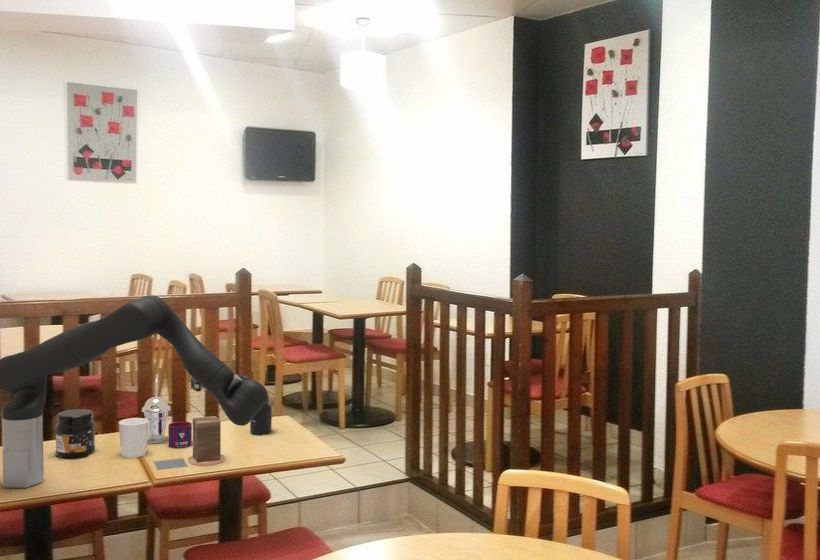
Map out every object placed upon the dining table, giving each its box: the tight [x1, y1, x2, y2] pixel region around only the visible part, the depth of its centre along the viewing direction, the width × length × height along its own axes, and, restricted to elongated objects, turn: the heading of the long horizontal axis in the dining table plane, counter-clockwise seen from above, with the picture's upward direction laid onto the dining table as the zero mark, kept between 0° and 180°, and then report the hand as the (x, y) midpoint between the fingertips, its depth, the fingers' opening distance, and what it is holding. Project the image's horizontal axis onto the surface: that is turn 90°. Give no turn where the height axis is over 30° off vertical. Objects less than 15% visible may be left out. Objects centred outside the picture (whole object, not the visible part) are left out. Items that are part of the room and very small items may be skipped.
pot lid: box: [187, 453, 226, 467], centre depth 218 cm, size 10×10×2 cm
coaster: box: [152, 457, 189, 471], centre depth 214 cm, size 8×8×1 cm
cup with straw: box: [141, 373, 171, 444], centre depth 237 cm, size 8×9×20 cm
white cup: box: [118, 417, 148, 459], centre depth 222 cm, size 8×8×10 cm
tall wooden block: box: [192, 415, 222, 463], centre depth 218 cm, size 6×6×11 cm
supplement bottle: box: [249, 395, 273, 436], centre depth 249 cm, size 7×7×12 cm
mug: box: [168, 421, 193, 449], centre depth 234 cm, size 7×10×7 cm
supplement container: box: [54, 408, 96, 459], centre depth 223 cm, size 10×10×12 cm
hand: (214, 377), depth 207 cm, fingers open, 8 cm apart
